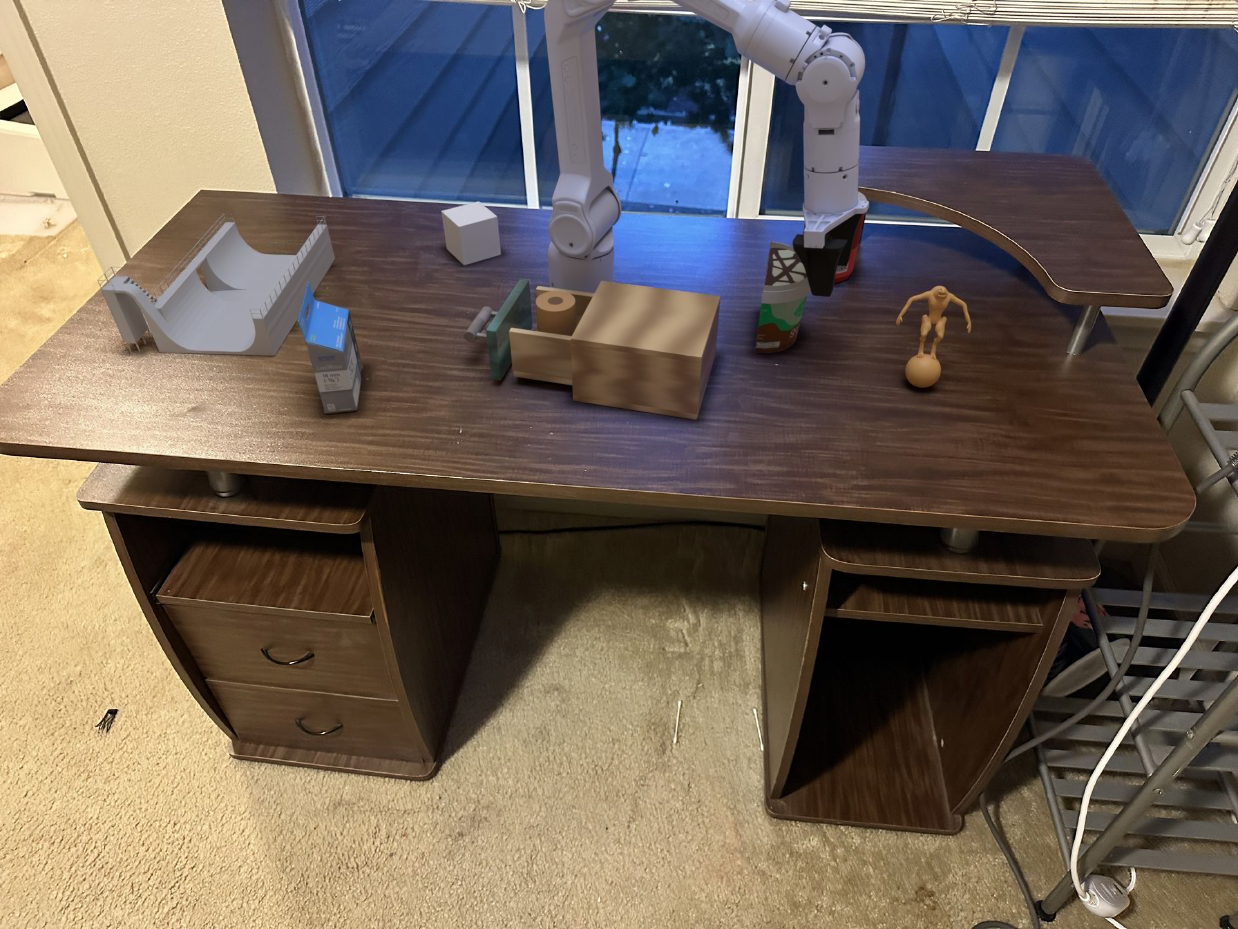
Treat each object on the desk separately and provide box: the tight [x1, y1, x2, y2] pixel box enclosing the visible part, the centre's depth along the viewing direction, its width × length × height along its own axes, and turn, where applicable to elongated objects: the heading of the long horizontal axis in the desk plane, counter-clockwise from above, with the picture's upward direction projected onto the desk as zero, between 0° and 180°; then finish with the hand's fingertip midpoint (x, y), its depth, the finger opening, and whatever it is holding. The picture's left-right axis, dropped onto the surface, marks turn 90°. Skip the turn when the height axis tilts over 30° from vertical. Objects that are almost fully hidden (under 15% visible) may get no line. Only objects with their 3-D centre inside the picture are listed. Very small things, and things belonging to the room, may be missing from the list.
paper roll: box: [535, 291, 576, 336], centre depth 101 cm, size 5×5×7 cm
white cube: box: [440, 201, 502, 266], centre depth 124 cm, size 6×6×6 cm
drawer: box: [463, 278, 595, 386], centre depth 102 cm, size 18×12×7 cm
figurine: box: [895, 285, 972, 389], centre depth 99 cm, size 8×6×12 cm
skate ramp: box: [97, 213, 336, 357], centre depth 112 cm, size 25×19×10 cm
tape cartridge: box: [297, 281, 364, 415], centre depth 97 cm, size 9×4×12 cm, turn 9°
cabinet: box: [571, 281, 722, 420], centre depth 100 cm, size 15×13×9 cm
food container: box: [754, 241, 812, 354], centre depth 107 cm, size 12×6×10 cm, turn 168°
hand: (830, 279), depth 99 cm, fingers open, 7 cm apart
